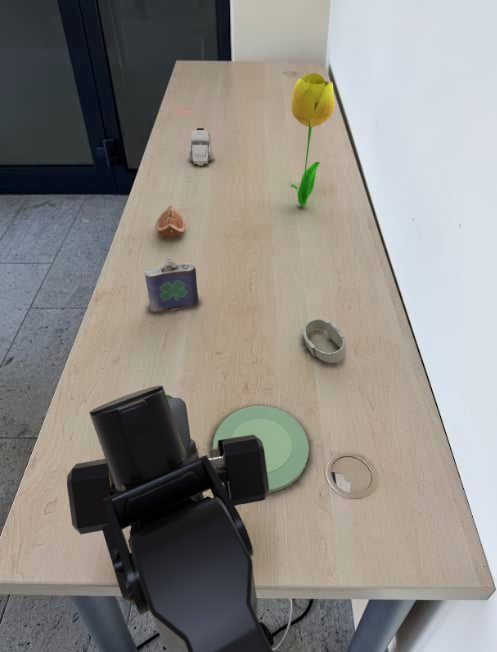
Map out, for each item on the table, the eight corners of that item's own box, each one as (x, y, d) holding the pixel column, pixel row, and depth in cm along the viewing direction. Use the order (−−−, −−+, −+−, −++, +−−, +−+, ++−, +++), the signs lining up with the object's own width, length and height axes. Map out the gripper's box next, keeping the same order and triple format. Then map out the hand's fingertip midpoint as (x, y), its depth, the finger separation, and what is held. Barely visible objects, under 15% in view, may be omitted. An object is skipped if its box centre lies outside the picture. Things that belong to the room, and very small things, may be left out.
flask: (151, 314, 92) (143, 269, 84) (149, 304, 94) (142, 259, 86) (199, 306, 93) (196, 261, 86) (196, 296, 95) (193, 252, 88)
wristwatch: (352, 359, 84) (357, 339, 81) (322, 371, 82) (325, 352, 79) (322, 326, 90) (326, 306, 86) (293, 337, 88) (296, 317, 84)
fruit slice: (185, 244, 108) (183, 224, 104) (155, 245, 108) (152, 225, 104) (186, 223, 114) (184, 204, 110) (157, 224, 113) (154, 205, 110)
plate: (309, 497, 66) (310, 493, 66) (207, 490, 67) (207, 486, 66) (307, 412, 76) (307, 408, 75) (218, 406, 77) (218, 402, 76)
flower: (292, 219, 116) (304, 86, 95) (279, 202, 121) (288, 72, 100) (325, 212, 118) (343, 81, 97) (311, 196, 123) (325, 68, 102)
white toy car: (211, 168, 137) (211, 132, 136) (210, 162, 130) (210, 124, 130) (190, 168, 137) (190, 132, 136) (188, 162, 130) (188, 124, 130)
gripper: (267, 396, 41) (242, 378, 57) (39, 431, 39) (78, 402, 54) (284, 524, 41) (255, 472, 57) (58, 569, 39) (91, 501, 54)
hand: (171, 459), depth 56 cm, fingers open, 9 cm apart
